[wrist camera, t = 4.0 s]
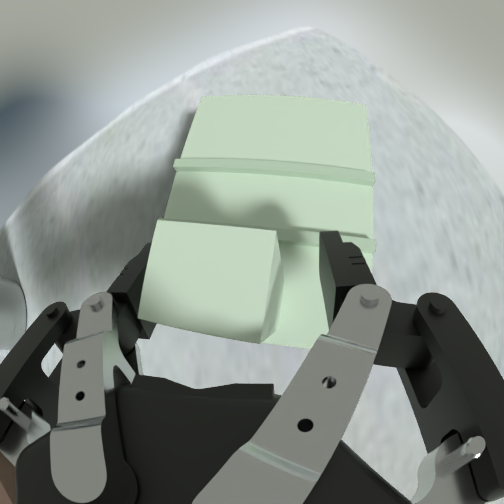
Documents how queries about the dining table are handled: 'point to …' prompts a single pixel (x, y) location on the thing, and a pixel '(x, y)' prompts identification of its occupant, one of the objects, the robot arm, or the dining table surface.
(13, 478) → the brown faceted pot
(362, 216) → the lid
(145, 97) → the dining table surface
